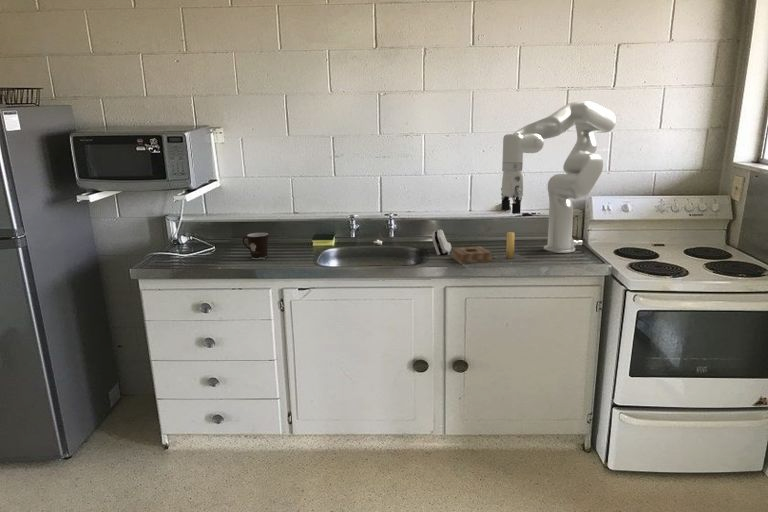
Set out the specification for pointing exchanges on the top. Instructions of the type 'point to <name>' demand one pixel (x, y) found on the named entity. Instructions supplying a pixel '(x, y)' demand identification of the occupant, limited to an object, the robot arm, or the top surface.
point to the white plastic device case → (440, 242)
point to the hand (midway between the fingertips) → (510, 211)
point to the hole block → (471, 255)
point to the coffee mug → (257, 244)
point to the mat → (504, 259)
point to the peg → (510, 245)
